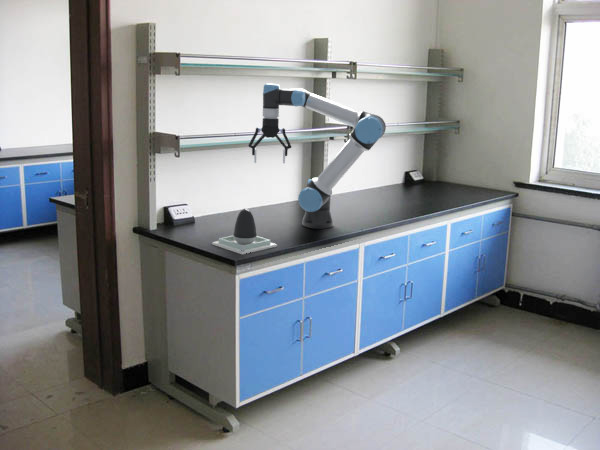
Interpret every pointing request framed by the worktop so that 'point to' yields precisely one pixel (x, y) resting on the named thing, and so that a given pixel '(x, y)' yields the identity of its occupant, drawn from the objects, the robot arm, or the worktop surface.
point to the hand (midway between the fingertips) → (269, 162)
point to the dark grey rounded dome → (245, 228)
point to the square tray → (233, 246)
